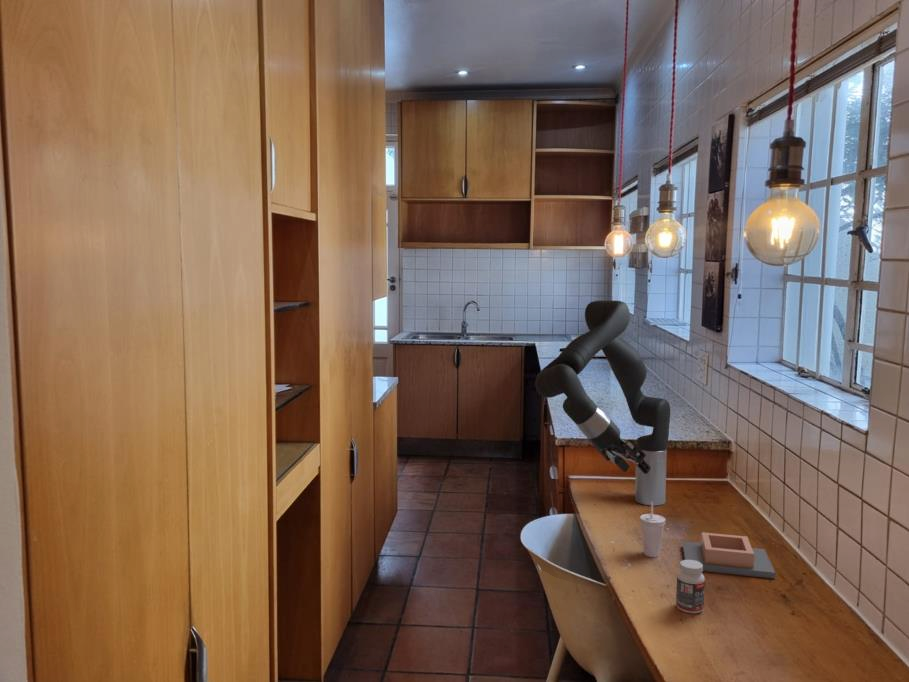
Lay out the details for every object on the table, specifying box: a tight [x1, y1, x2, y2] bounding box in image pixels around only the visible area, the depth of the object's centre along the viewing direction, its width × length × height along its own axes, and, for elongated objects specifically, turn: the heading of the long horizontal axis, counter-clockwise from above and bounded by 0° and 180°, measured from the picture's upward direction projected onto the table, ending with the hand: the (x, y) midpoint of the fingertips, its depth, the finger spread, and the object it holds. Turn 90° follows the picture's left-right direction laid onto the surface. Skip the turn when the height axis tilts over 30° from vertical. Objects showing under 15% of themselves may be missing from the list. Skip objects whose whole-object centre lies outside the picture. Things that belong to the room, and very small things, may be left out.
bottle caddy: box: [682, 532, 776, 580], centre depth 170 cm, size 14×20×5 cm
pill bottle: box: [675, 559, 706, 614], centre depth 147 cm, size 6×6×10 cm
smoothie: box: [639, 502, 667, 558], centre depth 174 cm, size 6×6×14 cm
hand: (637, 470), depth 174 cm, fingers open, 8 cm apart
